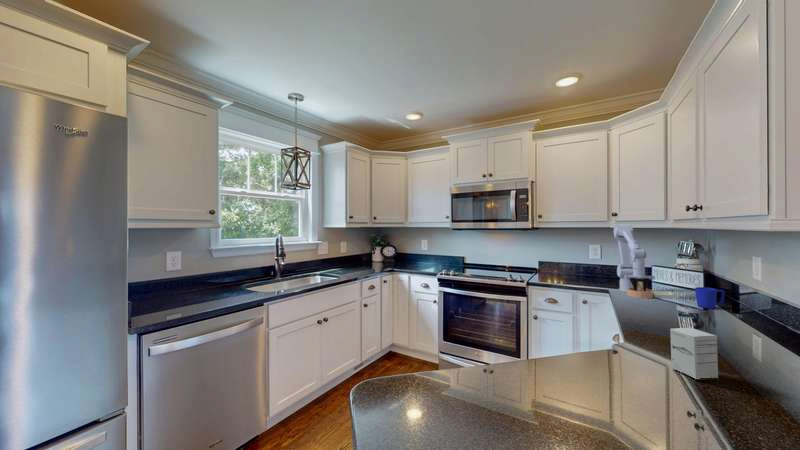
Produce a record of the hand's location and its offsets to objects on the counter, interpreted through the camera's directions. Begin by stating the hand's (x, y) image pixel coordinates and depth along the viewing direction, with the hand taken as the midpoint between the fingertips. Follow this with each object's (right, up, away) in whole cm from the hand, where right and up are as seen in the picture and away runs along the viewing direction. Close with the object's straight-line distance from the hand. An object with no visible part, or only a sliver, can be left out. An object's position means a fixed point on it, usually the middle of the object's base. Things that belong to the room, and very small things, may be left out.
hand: (639, 290), depth 188 cm
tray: (+13, -4, -1) cm, 14 cm away
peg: (0, -2, 0) cm, 2 cm away
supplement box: (-62, -4, -98) cm, 116 cm away
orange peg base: (0, -4, 0) cm, 4 cm away
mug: (+16, -3, -28) cm, 32 cm away
